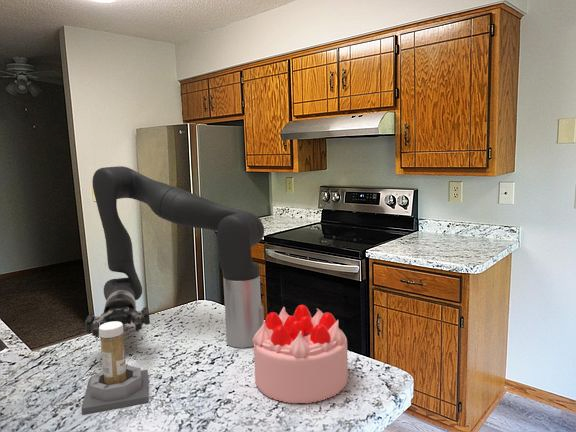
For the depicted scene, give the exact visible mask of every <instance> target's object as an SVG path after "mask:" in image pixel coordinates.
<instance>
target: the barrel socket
mask: <svg viewBox="0 0 576 432" xmlns="http://www.w3.org/2000/svg"><path fill="white" fill-rule="evenodd" d="M141 368H142V367H141ZM141 368H140V367H138V366H134V365H129V364H126V377H127V381H125V382H123V383H119V384H113V385H105V380H104V373H103V370H101V371H99V372H97V373H95V374H94V375H92V376H91V378H88V382H87V384H86V389H85V393H84V398H83V401H82V405H81V410H80V411H81V415H87V414H92V413H93V414H94V413H98V412H104V411H109V410H115V409H120V408H126V407H132V406H136V405H141V404H142V405H143V404H146V403H149V371H148V370H149V369H141Z"/></svg>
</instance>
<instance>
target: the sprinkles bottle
mask: <svg viewBox="0 0 576 432" xmlns="http://www.w3.org/2000/svg"><path fill="white" fill-rule="evenodd" d="M99 326H100V327H99V339H100V348H101V349H100V351H101V352H100V353H101V360H102V361H101V363H102V371H103V373H104V380H105V385H113V384H119V383H123V382H125V381H127V377H126V365H127V364H126V353H125V352H126V351H125V345H124V327H123V324H122V323H121V322H118V321H114V322H107V323H104V324H102V325H100V324H99Z"/></svg>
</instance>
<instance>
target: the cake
mask: <svg viewBox="0 0 576 432" xmlns="http://www.w3.org/2000/svg"><path fill="white" fill-rule="evenodd" d="M316 310H317V311H316V313H315V314H314V315H313V317H312V314H311V312H310V311H309V308H308V307H307V306H306V305H305V304H300V305H298V306H297V307H296V308H295V310H294V313H293V315H289V314H288V312H287V311H286V307H285V306H283V307H282V309H281V310H280V312H279V314H278V313H277V312H275V311H271V312H269V313H268V314H267V315H266V318H265V319H264V323H263V325H262V326H261V328H260V329H259V330H258V331H257V333H256V334H255V336H254V338H253V340H252V342H253V343H254V346H253V357H254V359H253V361H254V363H253V364H254V382H255V385H256V387H257V388H258V390H259V391H260V392H261V393H262V394H264V395H265V396H266V397H268V398H270V399H272V398H273V399H272V400H275V401H278V400H279V402H281V401H283V403H286V402H287V404H288V403H289V404H297V403H306V404H312V402H314V403H318V402H317V401H319V402H322V401H321V400H324V401H326V400H328V399H327V398H329V399H331V398H333V397H335V396H337V395H338V394H340V393H341V392H342V391H341V390H344V388H345V387H346V386H347V383H348V377H349V376H348V374H349V373H348V372H349V371H348V366H349V365H348V339H347V336H346V335H345V333H344V332H343V330H342V329H340V328H339V319H337V320H336V318H335V316H334V315H333V314H332V313H331V312H323V311H322V310H320V309H319V308H316ZM340 391H341V392H340ZM339 392H340V393H339ZM336 394H337V395H336ZM332 396H333V397H332ZM330 397H331V398H330ZM325 399H326V400H325Z"/></svg>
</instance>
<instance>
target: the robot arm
mask: <svg viewBox="0 0 576 432" xmlns="http://www.w3.org/2000/svg"><path fill="white" fill-rule="evenodd" d="M91 181H92V190H93V194H94V199H95V203H96V206H97V211H98V214H99V218H100V220H101V221H100V222H101V225H102V228H103V229H102V230H103V232H104V239H105V245H106V246H105V247H106V257H107V259H106V260H107V266H108V267H107V268H108V270H109V271H111V272H112V273H121V274H125V276H127V277H121V278H113V279H108V280H107V281H106V282H105V283H104V286H103V296H104V299H105V304H104V309H103V313H101V314H100V315H99V316H96V315H95V314H94V313H89V314H88V315H87V317H86V319H85V321H84V326H85V327H84V328H85V333H86V334H87V333H89V334H90V333H91V335H92V337H94V338H95V339H96V338H100V336H99V327H100V325H102V324H104V323H107V322H114V321H118V322H121V323H122V324H123V328H125V327H126V326H129V327H132V328H133V327H134V328H135V330H134V331H135V333H139V332H140V330H142V329H143V325H147V326H148V325H150V324H151V321H150V310H149V307H148V306H147V307H146V306H143V308H142V309H141V310H138V311H137V303H136V301H138V300H139V299H141V297H142V295H143V287H142V282H141V280H140V277H139V276H138V274H137V270H136V267H135V264H134V263H135V262H134V252H133V243H132V238H131V236H130V234H129V232H128V230H127V228H125V225H124V224H123V223H122V220H121V219H120V215H119V213H118V208H117V206H118V205H117V200H121V199H131V200H136V201H139V202H141V203H143V204H146V205H148V207H149V208H150V210H151V211H152V212H153V213H154V214H155V215H156V216H157V217H160V218H161V219H163V220H165V221H168V222H170V223H173V224H175V225H179V226H183V227H186V228H187V227H188V228H195V229H203V230H210V231H212V232H213V231H214V232H216V242H217V253H218V262H219V265H220V268H221V271H222V275H223V276H222V277H223V278H222V279H223V295H224V316H225V337H226V343H227V345H228V346H229V347H233V348H239V349H243V348H244V349H245V348H251V347H254V343H253V342H252V340H253V338H254V336H255V334H256V333H257V331H258V330H259V329H260V328H261V326H262V325H263V323H264V322H265V319H264V306H263V304H262V301H261V299H262V298H261V297H262V296H261V294H262V293H261V271H260V270H261V269H260V266H259V264H258V263H257V262H256V261H253V258H252V256H253V255H252V247H255V246H256V245H257V244H259V243H260V241H262V240H263V237H264V235H265V227H264V224H263V222H262V219H260V218H259V217H258V216H257V215H256V214H254V213H252V212H249V211H246V210H242V209H237V208H233V207H229V206H227V205H226V206H225V205H221V204H219V203H217V202H215V201H212V200H210V199H207V198H205V197H203V196H200V195H197V194H194V193H192V192H190V191H187V190H184V189H181V188H180V187H176V186H172V185H171V184H167V183H165V182H162V181H158V180H155V179H152V178H149V177H147V176H145V175H144V174H141V173H140V172H138V171H136V170H134V169H132V168H129V167H127V166H123V165H121V166H120V165H118V166H108V167H100V168H98V169H97V170H96V171H95V172H94V173H93V176H92V180H91Z"/></svg>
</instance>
